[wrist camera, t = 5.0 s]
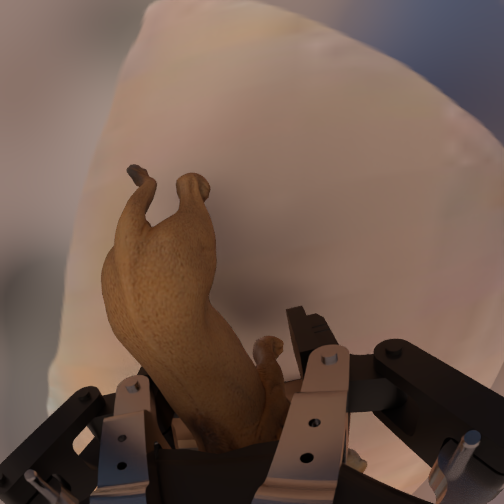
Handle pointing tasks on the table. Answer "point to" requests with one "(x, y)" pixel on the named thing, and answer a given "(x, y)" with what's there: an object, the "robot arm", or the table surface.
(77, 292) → the table surface
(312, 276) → the table surface
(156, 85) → the table surface
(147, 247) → the lion figurine
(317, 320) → the robot arm
